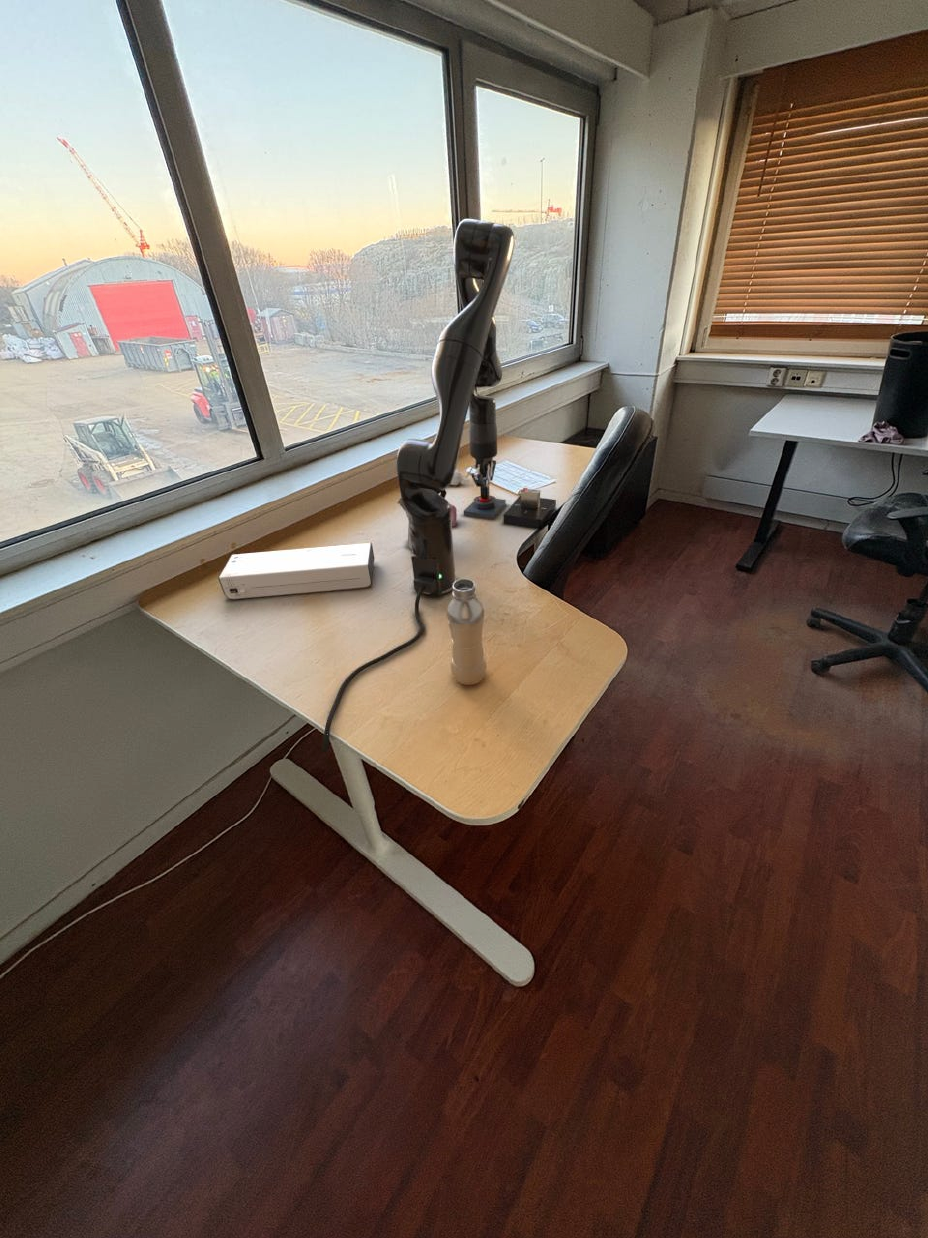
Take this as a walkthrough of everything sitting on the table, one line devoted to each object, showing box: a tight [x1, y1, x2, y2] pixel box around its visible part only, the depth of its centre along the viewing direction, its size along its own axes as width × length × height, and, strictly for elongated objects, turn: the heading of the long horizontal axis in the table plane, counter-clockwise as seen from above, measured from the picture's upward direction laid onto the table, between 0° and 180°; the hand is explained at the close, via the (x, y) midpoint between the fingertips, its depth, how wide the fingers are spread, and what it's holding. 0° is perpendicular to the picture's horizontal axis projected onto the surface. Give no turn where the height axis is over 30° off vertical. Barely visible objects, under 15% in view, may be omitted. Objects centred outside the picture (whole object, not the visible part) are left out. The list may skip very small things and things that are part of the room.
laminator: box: [217, 542, 375, 601], centre depth 120 cm, size 34×12×6 cm, turn 95°
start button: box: [479, 497, 491, 502], centre depth 148 cm, size 4×4×2 cm
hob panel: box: [503, 495, 557, 530], centre depth 144 cm, size 14×11×3 cm
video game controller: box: [448, 502, 458, 528], centre depth 143 cm, size 10×5×7 cm, turn 84°
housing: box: [463, 494, 507, 521], centre depth 149 cm, size 11×9×4 cm
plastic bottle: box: [446, 578, 488, 686], centre depth 86 cm, size 6×7×20 cm
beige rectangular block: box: [520, 487, 541, 509], centre depth 142 cm, size 5×2×5 cm, turn 65°
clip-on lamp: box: [450, 464, 475, 486], centre depth 169 cm, size 12×6×18 cm
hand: (485, 497), depth 148 cm, fingers closed
